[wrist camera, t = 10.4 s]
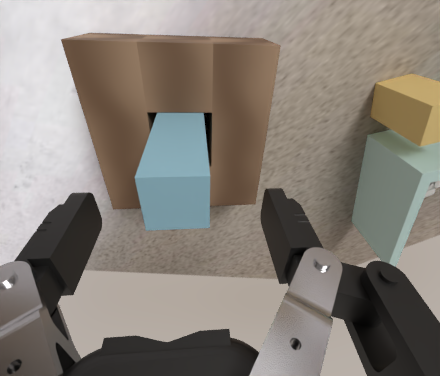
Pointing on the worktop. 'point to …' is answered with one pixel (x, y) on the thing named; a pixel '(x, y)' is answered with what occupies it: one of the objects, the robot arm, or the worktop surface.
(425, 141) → the short peg
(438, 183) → the l-shaped corner panel
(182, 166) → the long peg
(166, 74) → the hole block
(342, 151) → the worktop surface
